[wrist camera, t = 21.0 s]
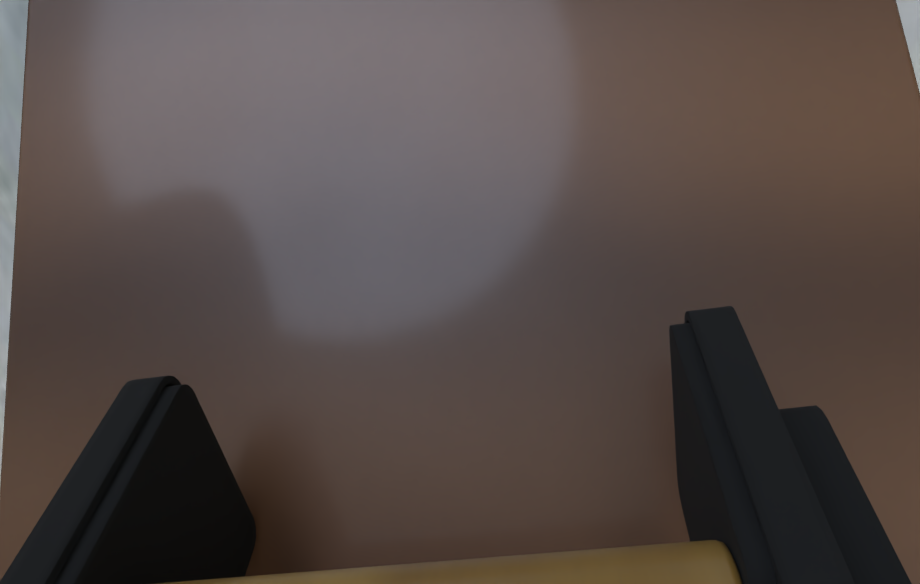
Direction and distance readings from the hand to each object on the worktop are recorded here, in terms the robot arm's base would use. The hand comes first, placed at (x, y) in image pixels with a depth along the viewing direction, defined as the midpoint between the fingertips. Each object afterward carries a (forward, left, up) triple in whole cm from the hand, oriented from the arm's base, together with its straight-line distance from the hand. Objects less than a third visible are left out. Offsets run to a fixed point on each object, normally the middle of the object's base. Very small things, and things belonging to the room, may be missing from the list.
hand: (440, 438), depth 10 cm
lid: (0, 0, -3) cm, 3 cm away
